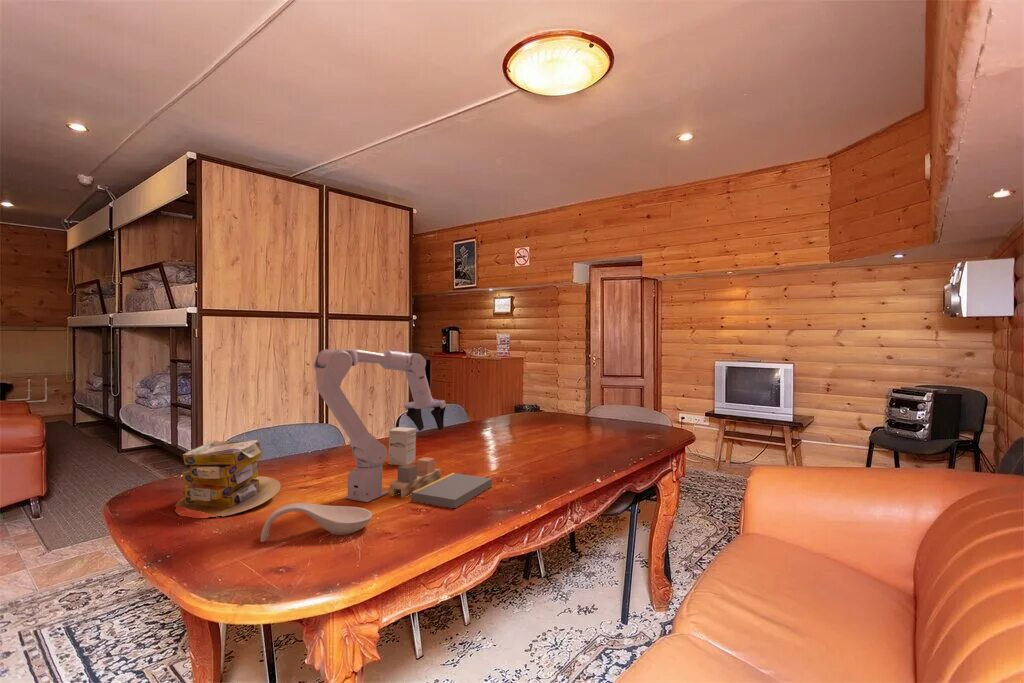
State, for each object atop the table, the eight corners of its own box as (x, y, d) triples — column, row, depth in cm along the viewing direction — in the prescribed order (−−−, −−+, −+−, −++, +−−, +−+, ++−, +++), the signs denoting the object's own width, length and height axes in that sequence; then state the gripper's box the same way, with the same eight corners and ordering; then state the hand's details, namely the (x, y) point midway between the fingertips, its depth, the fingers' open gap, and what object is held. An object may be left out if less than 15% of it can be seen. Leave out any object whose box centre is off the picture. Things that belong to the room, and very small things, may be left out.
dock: (454, 509, 127) (454, 499, 127) (411, 501, 132) (411, 491, 132) (491, 486, 147) (491, 478, 147) (452, 480, 152) (452, 472, 152)
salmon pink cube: (427, 474, 146) (427, 461, 146) (416, 472, 148) (416, 459, 148) (434, 471, 150) (434, 458, 150) (424, 469, 152) (424, 457, 152)
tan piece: (404, 499, 135) (404, 485, 135) (390, 496, 137) (390, 483, 137) (440, 481, 152) (440, 469, 152) (427, 479, 154) (427, 467, 154)
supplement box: (387, 464, 171) (388, 429, 171) (398, 460, 178) (398, 426, 178) (406, 466, 169) (406, 431, 169) (416, 461, 176) (416, 427, 176)
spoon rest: (369, 518, 120) (370, 490, 120) (374, 536, 109) (374, 505, 109) (264, 531, 111) (264, 500, 111) (257, 552, 100) (258, 517, 100)
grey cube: (408, 482, 138) (408, 468, 138) (397, 480, 139) (397, 467, 139) (416, 479, 141) (417, 465, 141) (405, 477, 143) (406, 464, 143)
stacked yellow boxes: (219, 525, 114) (220, 455, 114) (151, 510, 123) (152, 445, 123) (299, 495, 137) (300, 437, 137) (237, 484, 146) (238, 430, 146)
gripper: (446, 383, 150) (456, 422, 153) (408, 386, 156) (419, 424, 159) (434, 392, 144) (445, 432, 147) (395, 394, 150) (407, 433, 153)
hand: (431, 428), depth 152 cm, fingers open, 7 cm apart
